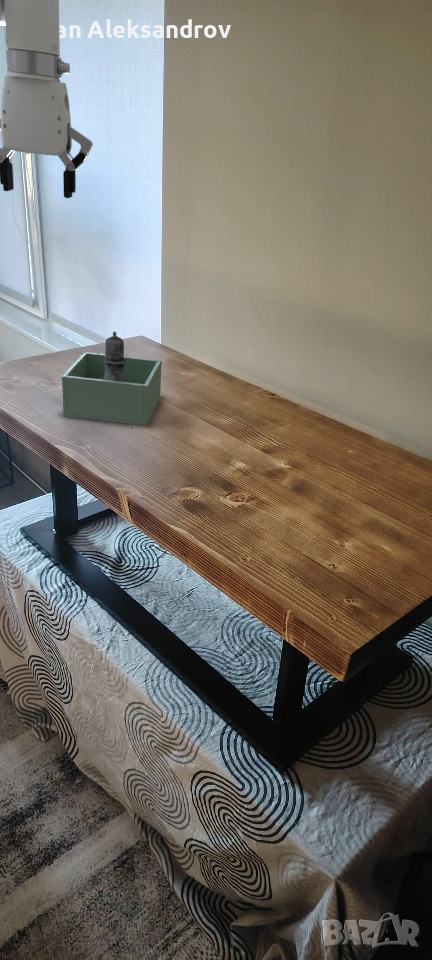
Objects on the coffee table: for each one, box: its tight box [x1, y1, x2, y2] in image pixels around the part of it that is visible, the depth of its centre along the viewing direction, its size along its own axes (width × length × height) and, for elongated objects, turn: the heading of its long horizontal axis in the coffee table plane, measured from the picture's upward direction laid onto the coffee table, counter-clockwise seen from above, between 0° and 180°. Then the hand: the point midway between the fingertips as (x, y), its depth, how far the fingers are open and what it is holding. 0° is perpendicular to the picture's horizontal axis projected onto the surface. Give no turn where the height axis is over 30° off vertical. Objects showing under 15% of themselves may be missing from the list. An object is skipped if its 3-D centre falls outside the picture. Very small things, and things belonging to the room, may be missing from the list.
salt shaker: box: [99, 330, 133, 383], centre depth 100 cm, size 6×6×12 cm
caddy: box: [61, 351, 163, 427], centre depth 101 cm, size 13×12×7 cm
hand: (38, 193), depth 101 cm, fingers open, 9 cm apart
